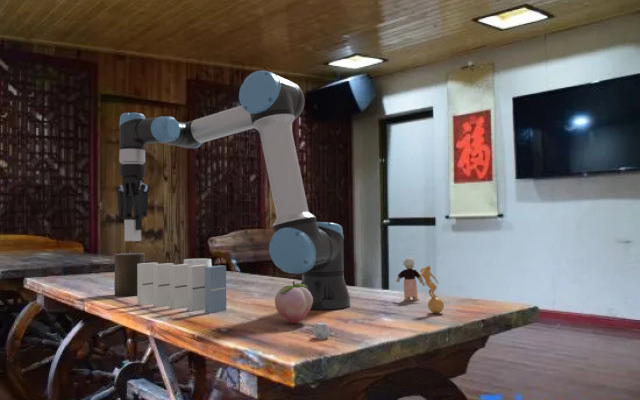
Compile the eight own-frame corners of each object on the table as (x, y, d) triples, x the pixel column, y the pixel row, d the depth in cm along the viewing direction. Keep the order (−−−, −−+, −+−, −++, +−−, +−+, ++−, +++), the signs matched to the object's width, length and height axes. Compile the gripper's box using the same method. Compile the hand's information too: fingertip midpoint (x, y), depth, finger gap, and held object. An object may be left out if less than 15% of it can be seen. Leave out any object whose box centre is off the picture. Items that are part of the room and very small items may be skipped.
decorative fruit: (289, 319, 140) (288, 278, 141) (318, 321, 136) (317, 279, 137) (267, 325, 132) (266, 281, 133) (296, 328, 128) (296, 283, 128)
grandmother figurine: (421, 298, 172) (420, 256, 172) (423, 300, 168) (423, 257, 168) (395, 299, 172) (394, 257, 172) (397, 301, 168) (397, 257, 168)
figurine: (436, 316, 141) (435, 267, 142) (414, 314, 145) (413, 266, 145) (450, 311, 148) (449, 265, 148) (428, 309, 152) (427, 264, 152)
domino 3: (190, 306, 164) (190, 264, 164) (174, 309, 159) (174, 265, 159) (185, 305, 165) (185, 263, 165) (169, 308, 160) (169, 265, 160)
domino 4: (208, 308, 160) (207, 264, 160) (192, 311, 155) (191, 266, 155) (203, 307, 161) (202, 264, 161) (187, 310, 156) (186, 266, 156)
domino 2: (174, 304, 168) (174, 263, 168) (157, 307, 163) (157, 264, 163) (169, 303, 169) (169, 263, 169) (153, 306, 164) (153, 264, 164)
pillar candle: (139, 296, 187) (139, 250, 188) (109, 296, 187) (110, 250, 188) (148, 292, 197) (148, 249, 197) (120, 293, 197) (120, 249, 197)
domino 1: (158, 302, 172) (158, 262, 172) (141, 305, 167) (141, 264, 167) (153, 302, 173) (153, 262, 173) (137, 304, 168) (137, 263, 168)
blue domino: (226, 310, 156) (226, 265, 156) (210, 313, 151) (210, 267, 151) (220, 309, 157) (220, 265, 157) (205, 312, 152) (204, 267, 152)
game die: (312, 336, 119) (311, 322, 119) (329, 336, 119) (329, 321, 119) (312, 340, 116) (312, 325, 116) (331, 339, 116) (330, 325, 116)
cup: (208, 298, 179) (208, 260, 179) (180, 299, 179) (179, 260, 179) (214, 294, 188) (214, 258, 188) (187, 295, 188) (187, 258, 188)
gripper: (159, 163, 174) (160, 240, 173) (126, 166, 183) (126, 240, 182) (139, 161, 168) (139, 241, 167) (105, 165, 177) (105, 241, 176)
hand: (132, 240), depth 174 cm, fingers open, 3 cm apart
